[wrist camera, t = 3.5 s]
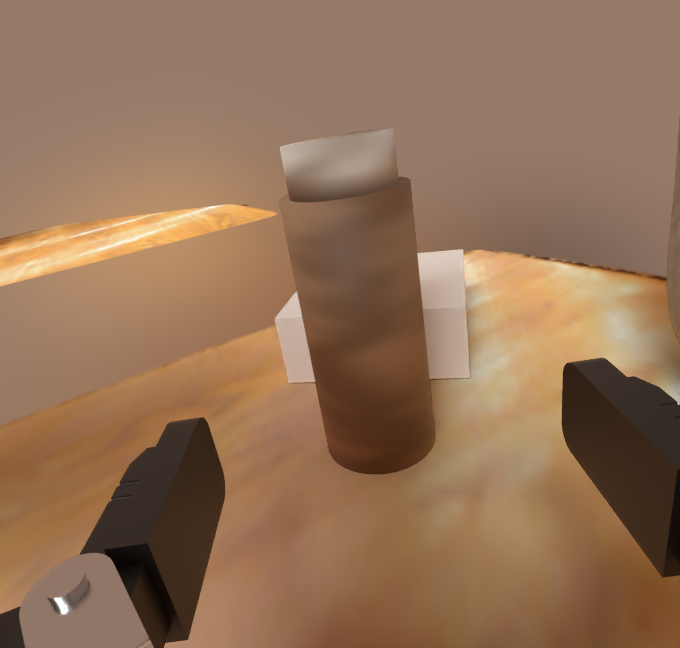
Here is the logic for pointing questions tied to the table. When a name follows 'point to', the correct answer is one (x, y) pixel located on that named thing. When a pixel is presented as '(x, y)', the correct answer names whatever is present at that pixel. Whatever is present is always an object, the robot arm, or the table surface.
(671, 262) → the grey vase
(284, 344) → the riser block
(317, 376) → the pepper mill
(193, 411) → the table surface
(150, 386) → the table surface
